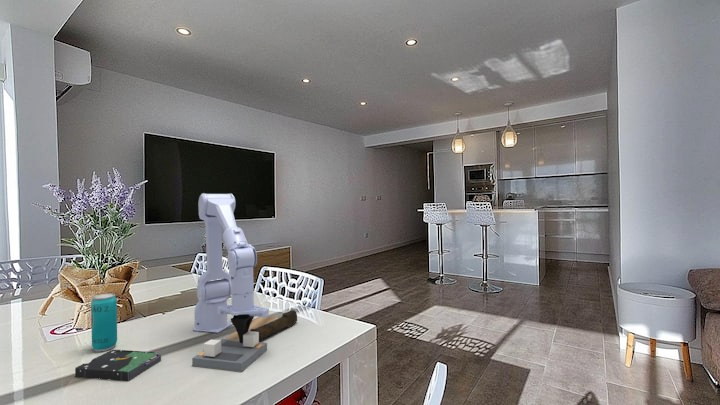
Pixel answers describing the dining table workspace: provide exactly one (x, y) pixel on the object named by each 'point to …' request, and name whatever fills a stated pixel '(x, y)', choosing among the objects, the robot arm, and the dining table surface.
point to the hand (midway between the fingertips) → (243, 341)
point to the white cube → (212, 348)
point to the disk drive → (118, 365)
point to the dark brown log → (277, 324)
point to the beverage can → (104, 322)
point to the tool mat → (253, 326)
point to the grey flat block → (231, 356)
